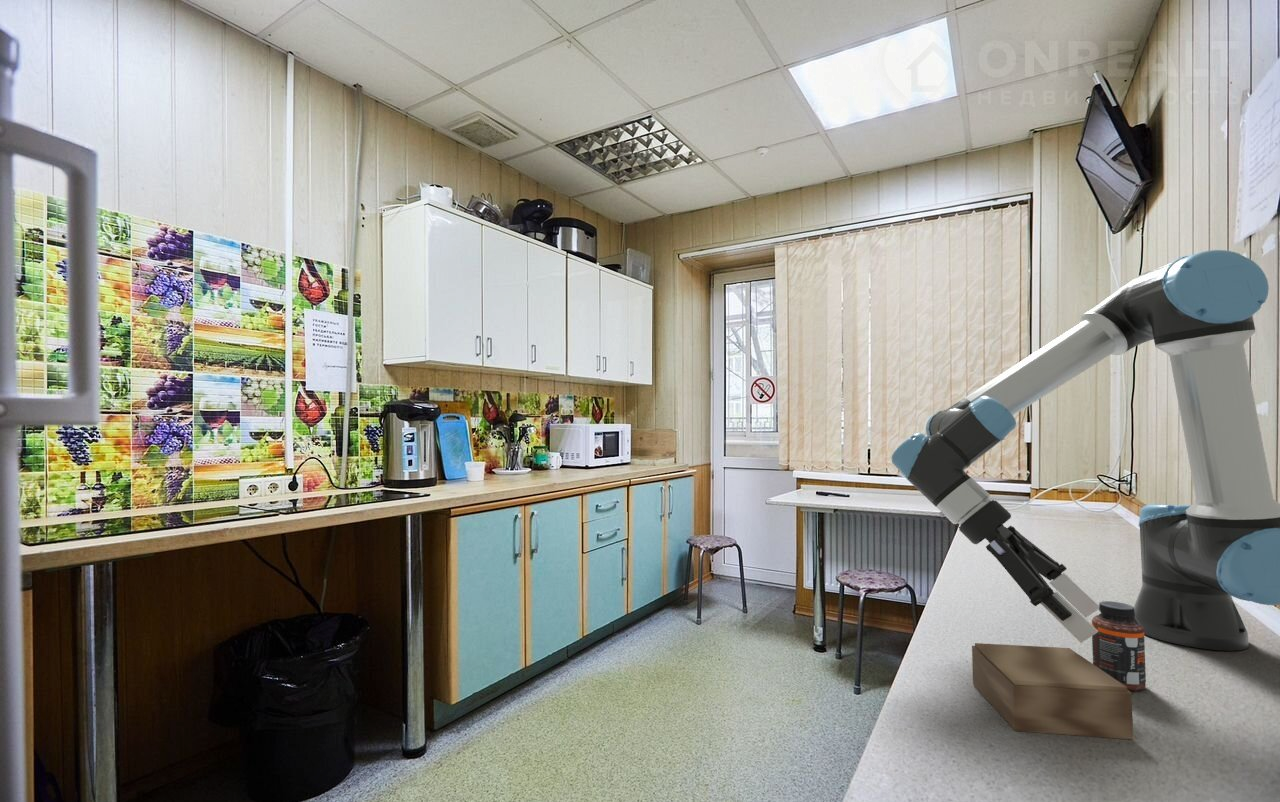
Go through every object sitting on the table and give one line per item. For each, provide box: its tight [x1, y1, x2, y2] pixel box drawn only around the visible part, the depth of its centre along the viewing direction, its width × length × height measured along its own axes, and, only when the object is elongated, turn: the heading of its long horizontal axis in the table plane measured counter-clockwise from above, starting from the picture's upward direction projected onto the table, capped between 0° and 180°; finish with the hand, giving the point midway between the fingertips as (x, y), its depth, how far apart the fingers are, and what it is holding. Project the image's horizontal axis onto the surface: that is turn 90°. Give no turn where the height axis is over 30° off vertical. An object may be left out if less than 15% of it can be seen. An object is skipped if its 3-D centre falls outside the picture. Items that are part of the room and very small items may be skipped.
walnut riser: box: [971, 642, 1134, 740], centre depth 77 cm, size 13×13×6 cm
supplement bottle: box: [1091, 600, 1147, 692], centre depth 85 cm, size 6×6×11 cm
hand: (1091, 624), depth 86 cm, fingers open, 13 cm apart
